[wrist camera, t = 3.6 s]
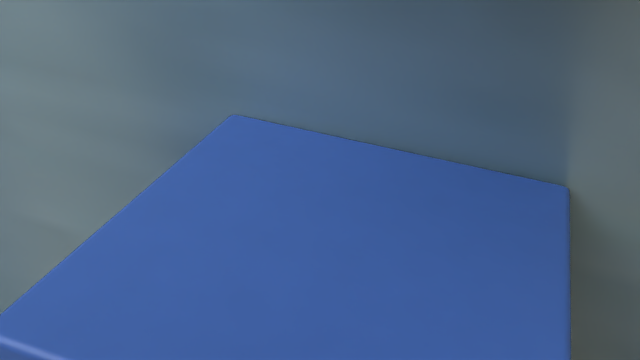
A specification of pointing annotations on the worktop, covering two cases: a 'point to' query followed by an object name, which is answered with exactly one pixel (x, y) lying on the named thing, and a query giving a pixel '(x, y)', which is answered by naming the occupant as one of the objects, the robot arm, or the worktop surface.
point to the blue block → (311, 261)
